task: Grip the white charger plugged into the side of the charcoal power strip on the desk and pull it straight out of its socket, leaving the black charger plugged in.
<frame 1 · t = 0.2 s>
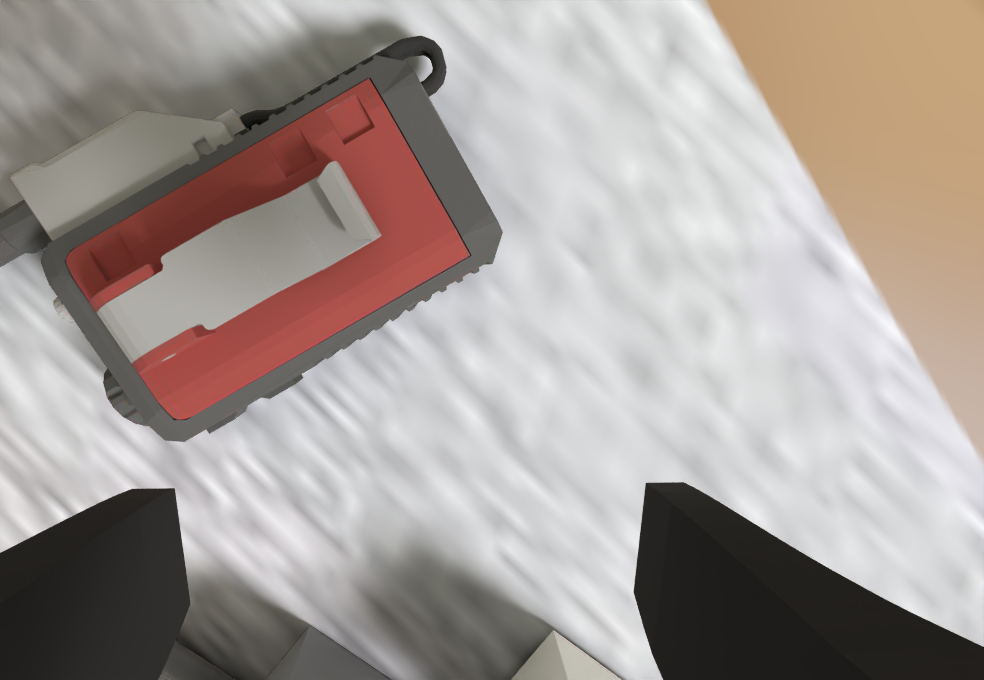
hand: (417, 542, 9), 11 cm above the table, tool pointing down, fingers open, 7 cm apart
walkie-talkie: (202, 276, 19), on the table
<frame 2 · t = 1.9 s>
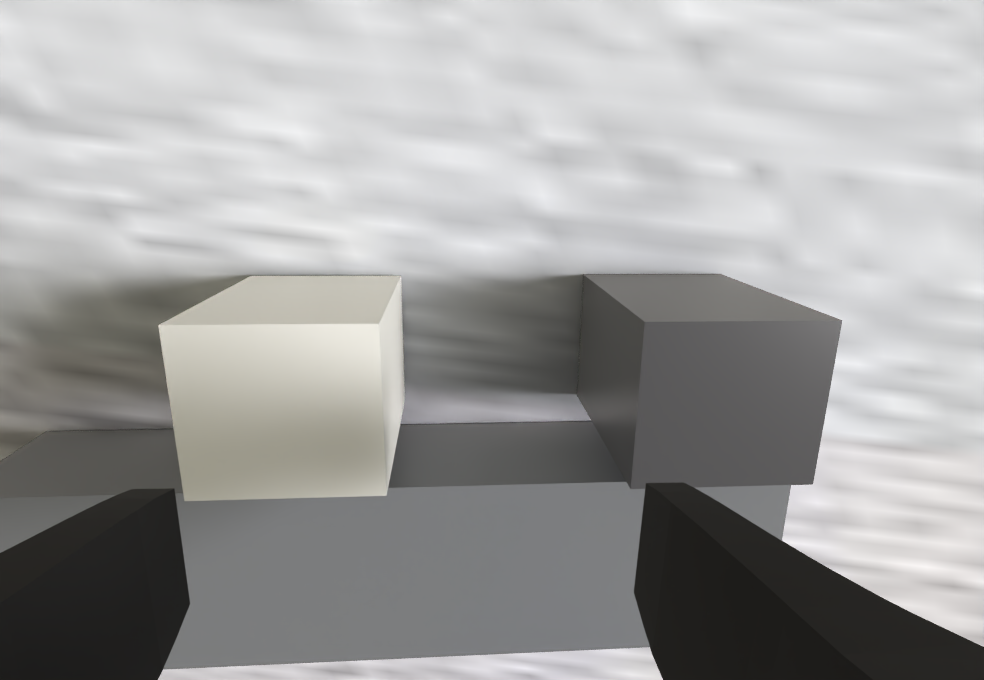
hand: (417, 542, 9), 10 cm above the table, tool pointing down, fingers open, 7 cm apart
charger: (313, 418, 16), point 3 cm above the table, slide at 0.0 cm
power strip: (402, 499, 20), on the table
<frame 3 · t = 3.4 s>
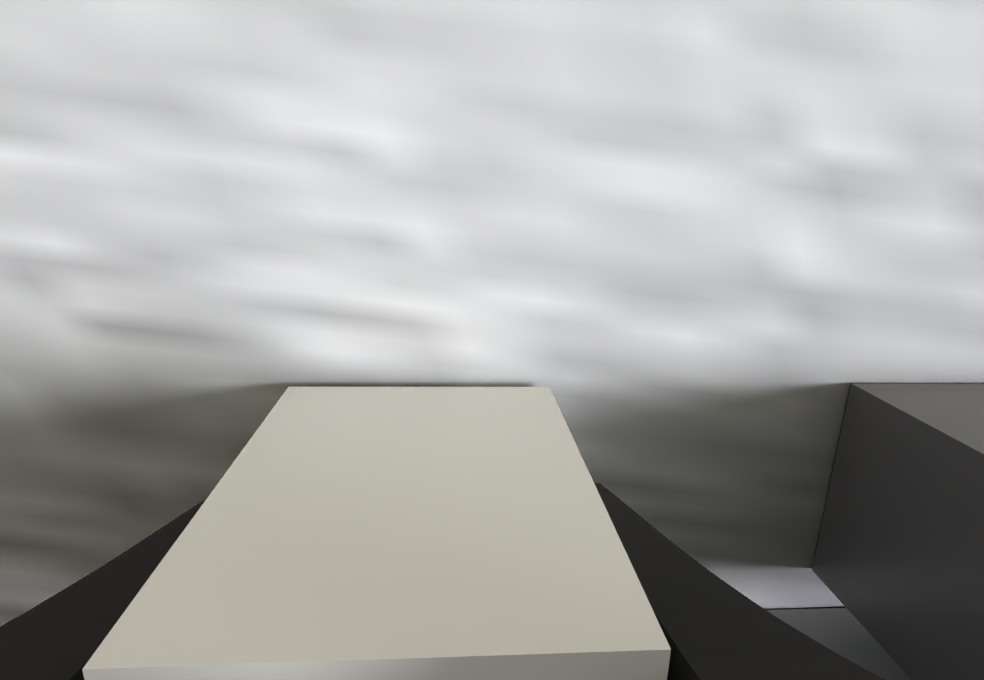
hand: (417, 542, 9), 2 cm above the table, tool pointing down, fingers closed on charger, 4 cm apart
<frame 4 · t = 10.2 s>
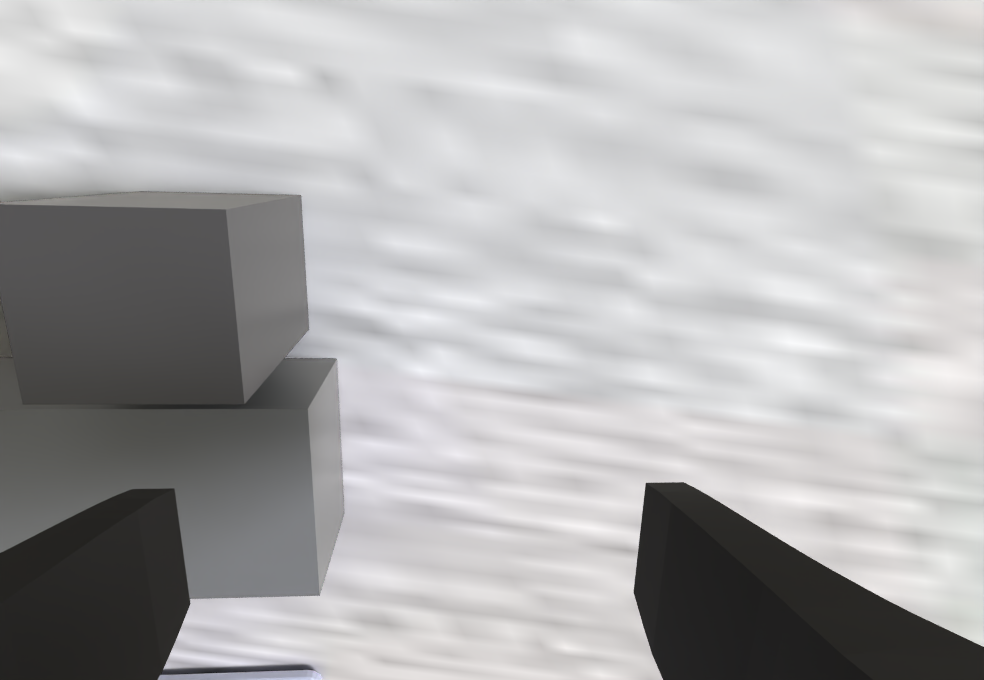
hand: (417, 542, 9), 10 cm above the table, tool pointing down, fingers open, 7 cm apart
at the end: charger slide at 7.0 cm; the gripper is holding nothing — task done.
